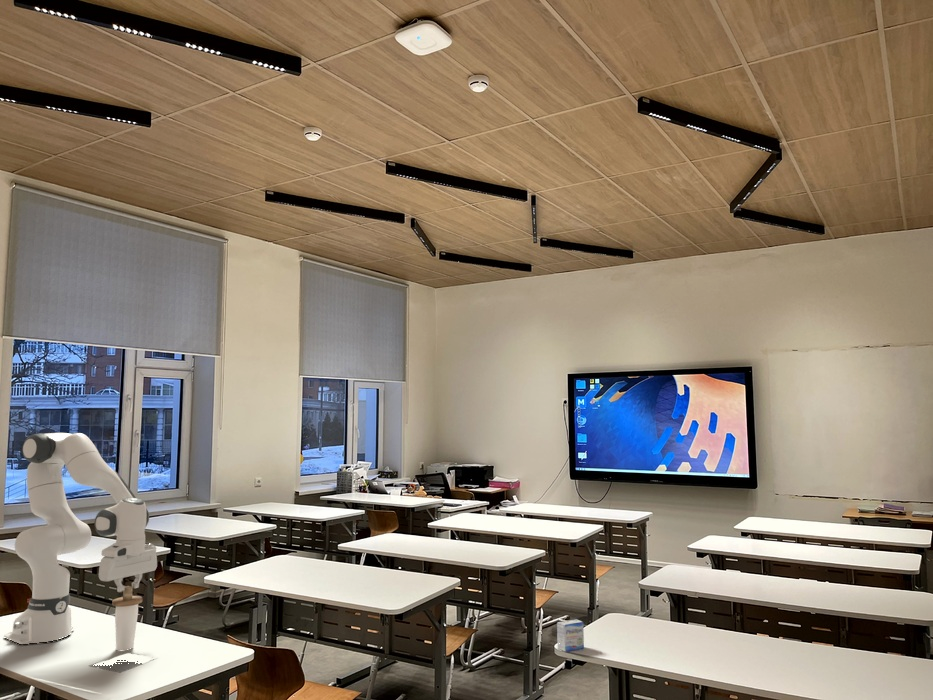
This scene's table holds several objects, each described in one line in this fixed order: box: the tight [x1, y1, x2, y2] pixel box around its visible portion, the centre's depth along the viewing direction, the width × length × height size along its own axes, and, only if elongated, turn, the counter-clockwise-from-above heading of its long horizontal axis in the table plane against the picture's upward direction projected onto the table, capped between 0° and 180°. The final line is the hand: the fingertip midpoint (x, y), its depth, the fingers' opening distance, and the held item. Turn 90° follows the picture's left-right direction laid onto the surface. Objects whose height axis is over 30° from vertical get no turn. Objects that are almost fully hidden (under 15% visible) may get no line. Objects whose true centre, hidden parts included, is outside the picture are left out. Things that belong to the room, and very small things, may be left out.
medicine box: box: [556, 618, 585, 653], centre depth 223 cm, size 8×4×9 cm, turn 117°
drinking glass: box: [114, 604, 139, 651], centre depth 223 cm, size 7×7×15 cm
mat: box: [88, 660, 143, 673], centre depth 209 cm, size 14×14×1 cm
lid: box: [111, 585, 143, 608], centre depth 224 cm, size 9×9×5 cm
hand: (128, 589), depth 224 cm, fingers open, 4 cm apart
